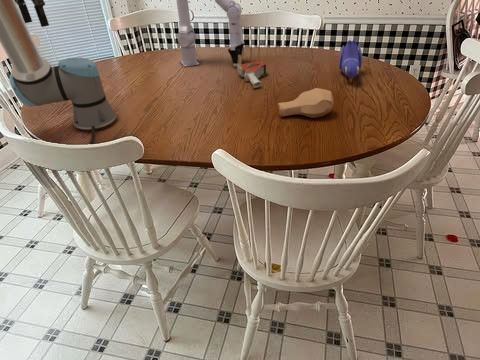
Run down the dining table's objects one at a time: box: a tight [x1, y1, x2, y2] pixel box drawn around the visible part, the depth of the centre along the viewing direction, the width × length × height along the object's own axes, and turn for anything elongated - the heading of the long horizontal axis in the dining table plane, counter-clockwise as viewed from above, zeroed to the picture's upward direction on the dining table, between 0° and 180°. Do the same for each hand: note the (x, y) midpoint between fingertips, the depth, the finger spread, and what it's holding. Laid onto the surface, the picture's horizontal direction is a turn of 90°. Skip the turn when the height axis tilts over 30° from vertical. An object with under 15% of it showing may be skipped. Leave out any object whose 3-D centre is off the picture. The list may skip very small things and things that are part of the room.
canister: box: [232, 55, 242, 67], centre depth 177 cm, size 4×4×5 cm
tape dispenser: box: [236, 60, 267, 89], centre depth 159 cm, size 18×5×20 cm
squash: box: [277, 87, 335, 119], centre depth 127 cm, size 11×20×9 cm, turn 92°
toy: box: [338, 39, 363, 84], centre depth 153 cm, size 10×17×25 cm
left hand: (36, 24), depth 138 cm, fingers open, 13 cm apart
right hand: (237, 60), depth 177 cm, fingers open, 7 cm apart
